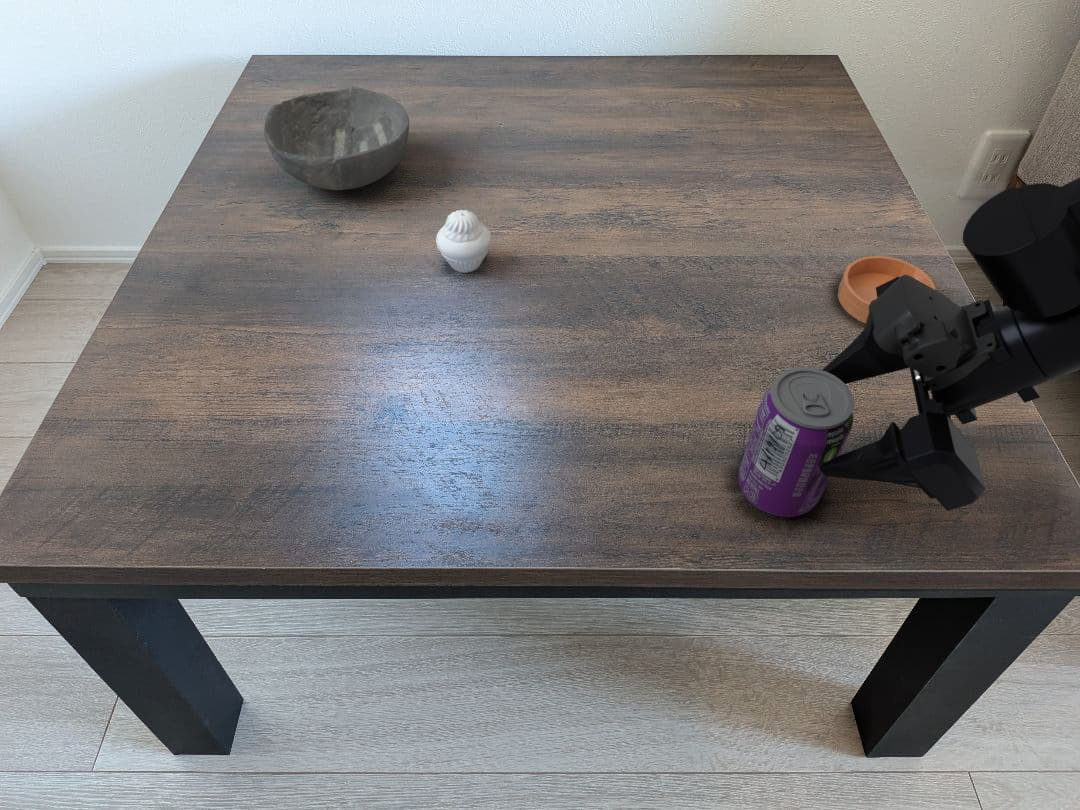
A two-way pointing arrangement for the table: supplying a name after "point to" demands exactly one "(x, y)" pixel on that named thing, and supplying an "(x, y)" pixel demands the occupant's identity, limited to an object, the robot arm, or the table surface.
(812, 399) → the beverage can
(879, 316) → the robot arm
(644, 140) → the table surface
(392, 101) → the bowl
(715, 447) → the table surface
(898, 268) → the terracotta bowl
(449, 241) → the muffin
